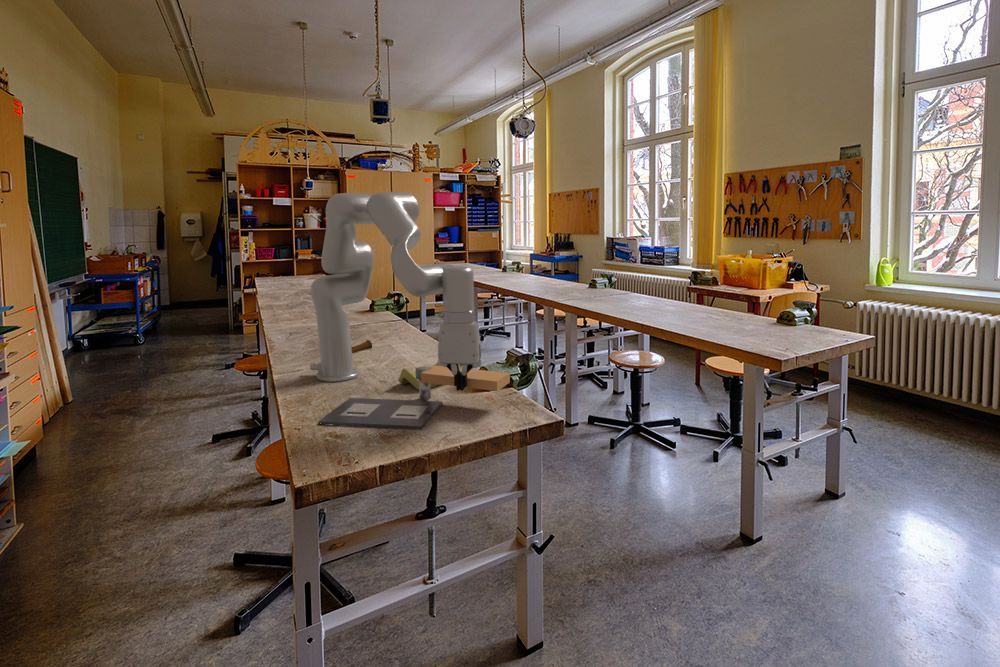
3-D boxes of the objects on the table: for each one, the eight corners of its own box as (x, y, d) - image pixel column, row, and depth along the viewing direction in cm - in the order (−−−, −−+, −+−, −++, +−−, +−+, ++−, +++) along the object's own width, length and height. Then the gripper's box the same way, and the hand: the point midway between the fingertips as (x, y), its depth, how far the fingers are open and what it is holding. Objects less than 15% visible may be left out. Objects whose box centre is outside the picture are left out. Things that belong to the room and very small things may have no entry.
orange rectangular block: (497, 391, 141) (497, 381, 141) (409, 380, 152) (408, 371, 151) (509, 382, 149) (509, 373, 148) (424, 372, 159) (424, 364, 158)
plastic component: (422, 385, 161) (400, 365, 165) (417, 404, 165) (396, 384, 169) (471, 365, 175) (450, 347, 180) (466, 383, 179) (445, 365, 183)
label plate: (318, 424, 138) (316, 402, 137) (358, 394, 161) (356, 374, 159) (421, 429, 134) (420, 406, 132) (447, 397, 156) (447, 377, 155)
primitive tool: (334, 360, 201) (333, 350, 200) (323, 358, 204) (322, 349, 203) (374, 349, 216) (373, 340, 216) (364, 347, 219) (363, 338, 219)
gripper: (425, 319, 137) (428, 392, 141) (485, 321, 135) (487, 395, 139) (434, 313, 145) (436, 383, 149) (492, 315, 142) (493, 385, 146)
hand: (461, 388), depth 144 cm, fingers closed
